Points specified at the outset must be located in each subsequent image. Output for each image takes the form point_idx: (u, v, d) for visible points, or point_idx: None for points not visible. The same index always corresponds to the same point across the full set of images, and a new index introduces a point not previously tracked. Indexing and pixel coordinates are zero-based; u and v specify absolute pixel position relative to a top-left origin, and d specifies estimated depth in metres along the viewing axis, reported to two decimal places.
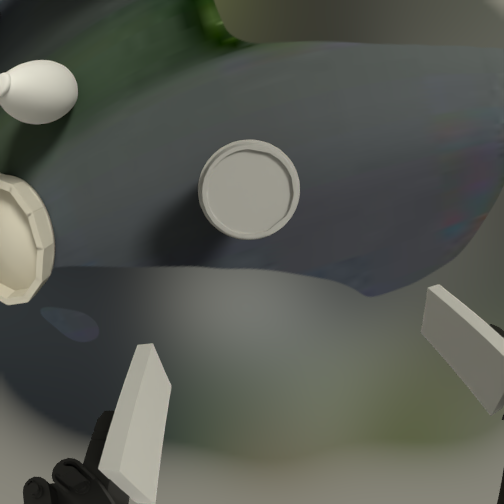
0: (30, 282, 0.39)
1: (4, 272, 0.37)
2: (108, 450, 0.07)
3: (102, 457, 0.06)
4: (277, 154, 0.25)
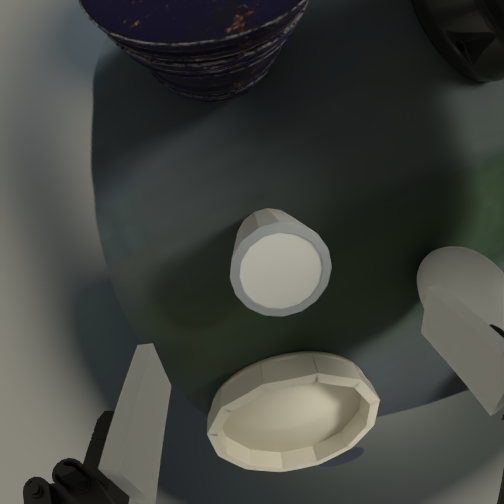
0: (311, 443, 0.36)
1: (271, 441, 0.35)
2: (108, 450, 0.07)
3: (102, 457, 0.06)
4: None
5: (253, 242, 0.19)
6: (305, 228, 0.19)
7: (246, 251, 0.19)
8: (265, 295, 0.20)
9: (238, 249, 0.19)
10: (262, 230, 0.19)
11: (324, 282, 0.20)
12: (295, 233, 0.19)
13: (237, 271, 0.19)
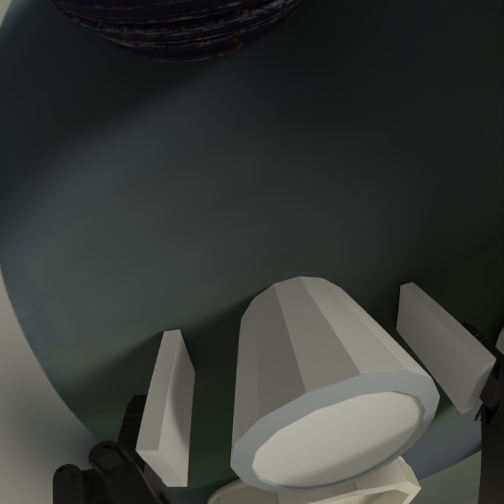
0: None
1: None
2: (145, 431, 0.08)
3: (139, 438, 0.07)
4: None
5: (288, 421, 0.06)
6: (412, 375, 0.06)
7: (270, 435, 0.07)
8: (301, 476, 0.08)
9: (250, 431, 0.07)
10: (315, 395, 0.06)
11: (413, 441, 0.08)
12: (390, 390, 0.06)
13: (248, 458, 0.07)
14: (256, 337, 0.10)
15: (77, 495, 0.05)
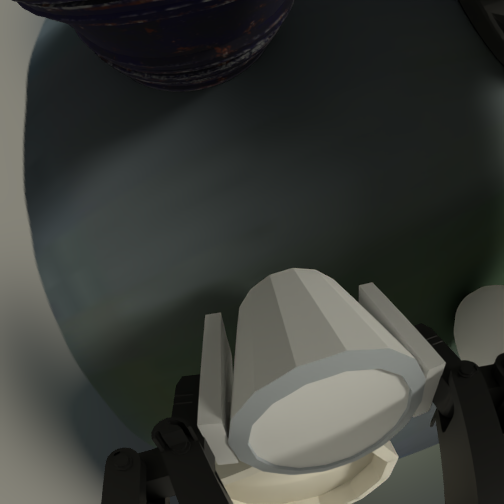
0: (317, 494, 0.28)
1: (271, 497, 0.27)
2: (204, 406, 0.09)
3: (199, 414, 0.08)
4: None
5: (281, 395, 0.07)
6: (396, 354, 0.07)
7: (264, 409, 0.07)
8: (295, 456, 0.09)
9: (246, 405, 0.07)
10: (304, 370, 0.07)
11: (403, 424, 0.09)
12: (375, 368, 0.07)
13: (244, 435, 0.08)
14: (252, 322, 0.11)
15: (132, 481, 0.06)
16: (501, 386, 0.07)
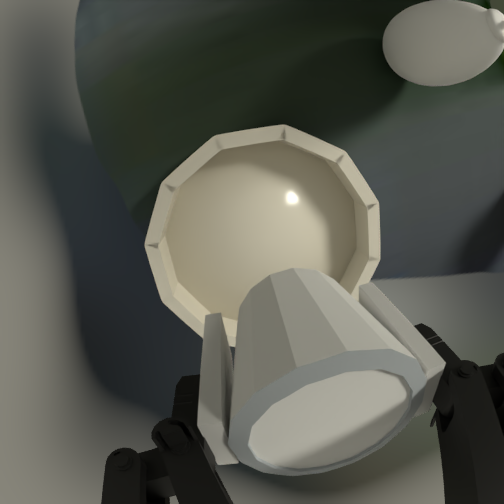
0: None
1: (240, 298, 0.30)
2: (204, 406, 0.09)
3: (199, 414, 0.08)
4: None
5: (281, 395, 0.07)
6: (397, 354, 0.07)
7: (264, 410, 0.07)
8: (296, 457, 0.09)
9: (245, 406, 0.07)
10: (305, 370, 0.07)
11: (403, 424, 0.09)
12: (376, 368, 0.07)
13: (244, 435, 0.08)
14: (252, 322, 0.11)
15: (132, 481, 0.06)
16: (501, 387, 0.07)
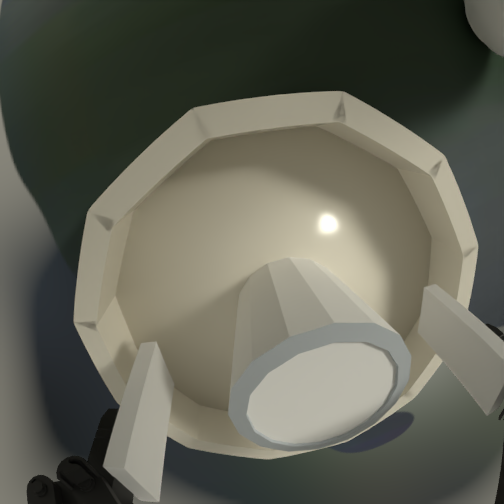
0: None
1: None
2: (113, 447, 0.07)
3: (107, 454, 0.07)
4: None
5: (276, 363, 0.08)
6: (381, 329, 0.08)
7: (261, 378, 0.09)
8: (291, 430, 0.10)
9: (244, 375, 0.09)
10: (297, 340, 0.08)
11: (392, 402, 0.10)
12: (362, 341, 0.08)
13: (243, 405, 0.09)
14: (251, 304, 0.12)
15: None
16: None
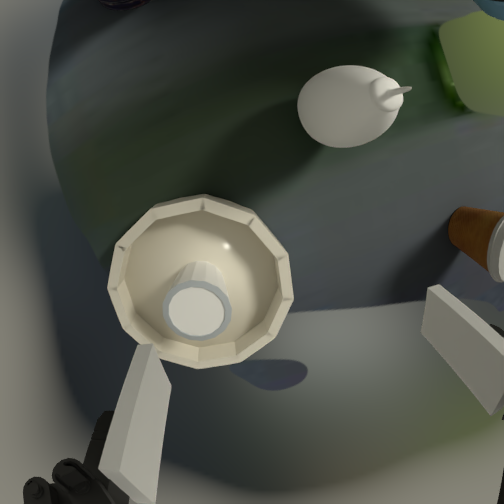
0: (232, 336, 0.38)
1: None
2: (108, 450, 0.07)
3: (102, 457, 0.06)
4: None
5: (174, 293, 0.28)
6: (209, 283, 0.28)
7: (171, 299, 0.28)
8: (187, 326, 0.29)
9: (166, 297, 0.28)
10: (180, 285, 0.27)
11: (227, 318, 0.29)
12: (202, 287, 0.28)
13: (167, 311, 0.28)
14: None
15: None
16: None
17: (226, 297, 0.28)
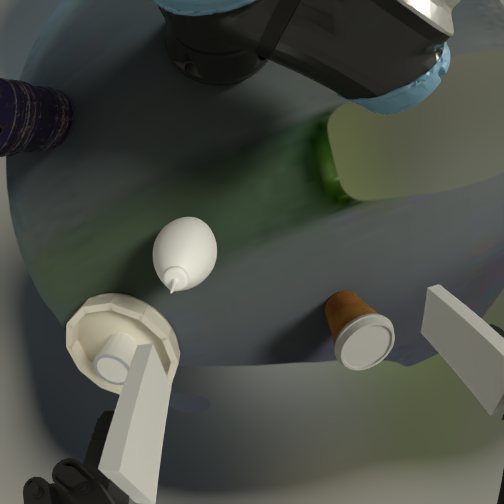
0: None
1: None
2: (108, 450, 0.07)
3: (102, 457, 0.06)
4: (388, 325, 0.38)
5: (98, 359, 0.40)
6: (115, 356, 0.41)
7: (97, 362, 0.41)
8: (109, 377, 0.42)
9: (94, 361, 0.41)
10: (100, 356, 0.40)
11: None
12: (112, 358, 0.41)
13: (96, 368, 0.41)
14: (103, 346, 0.44)
15: None
16: None
17: (126, 364, 0.41)
